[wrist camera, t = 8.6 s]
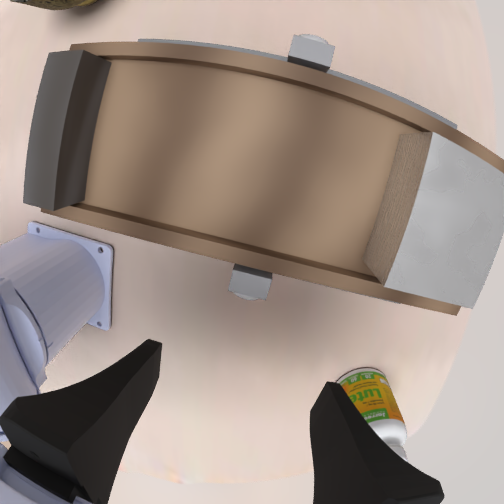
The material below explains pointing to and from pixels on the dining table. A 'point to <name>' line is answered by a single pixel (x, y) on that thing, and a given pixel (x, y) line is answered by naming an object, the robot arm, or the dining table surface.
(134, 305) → the dining table surface
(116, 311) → the dining table surface
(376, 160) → the seesaw beam
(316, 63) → the stand
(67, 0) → the cup
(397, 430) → the supplement bottle
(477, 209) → the block
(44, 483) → the robot arm
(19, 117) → the dining table surface
